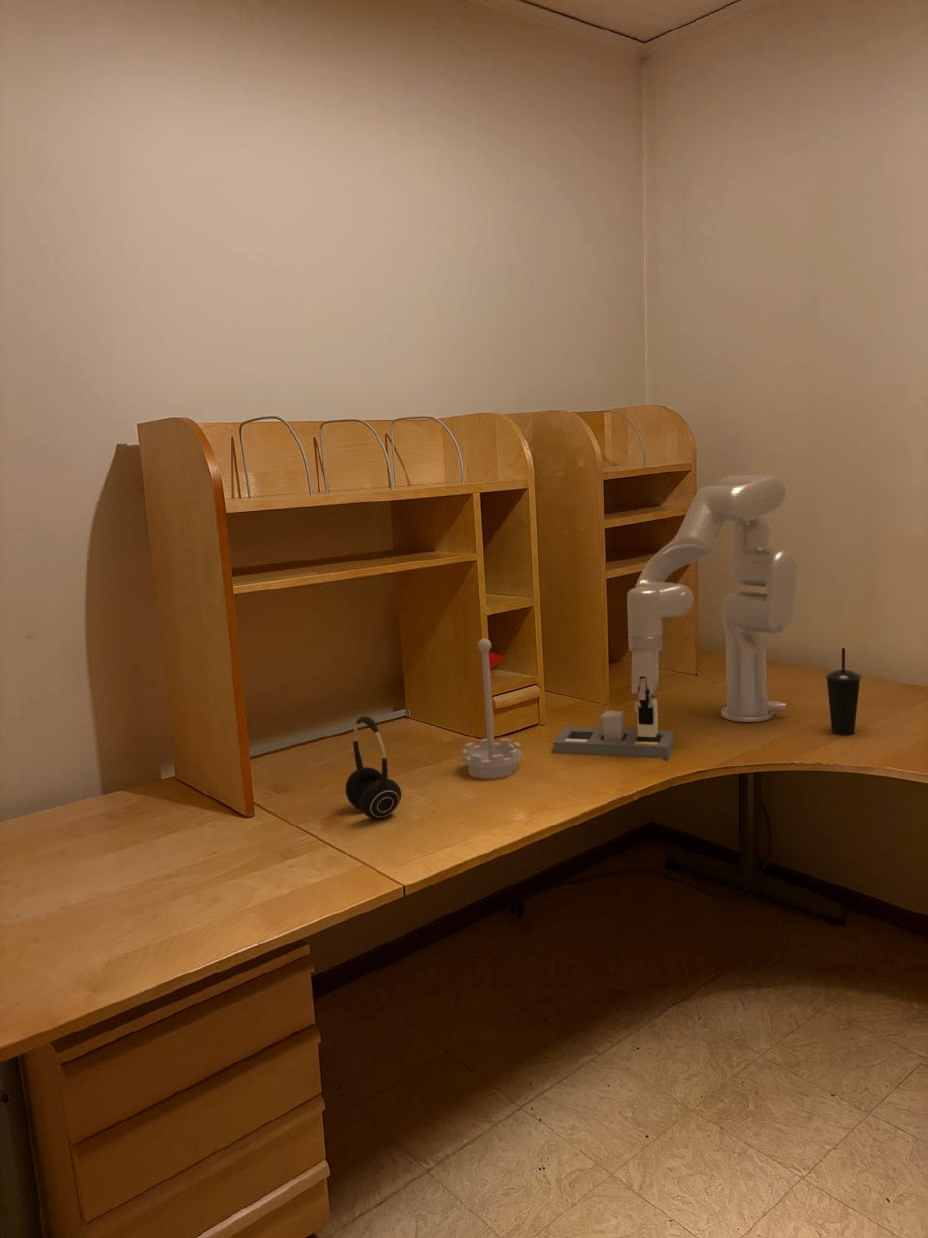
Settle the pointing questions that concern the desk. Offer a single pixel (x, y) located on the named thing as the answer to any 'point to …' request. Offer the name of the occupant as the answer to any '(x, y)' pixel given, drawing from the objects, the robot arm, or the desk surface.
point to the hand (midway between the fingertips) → (647, 720)
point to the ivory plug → (648, 729)
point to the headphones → (372, 782)
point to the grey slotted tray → (613, 740)
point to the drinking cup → (843, 698)
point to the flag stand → (490, 733)
